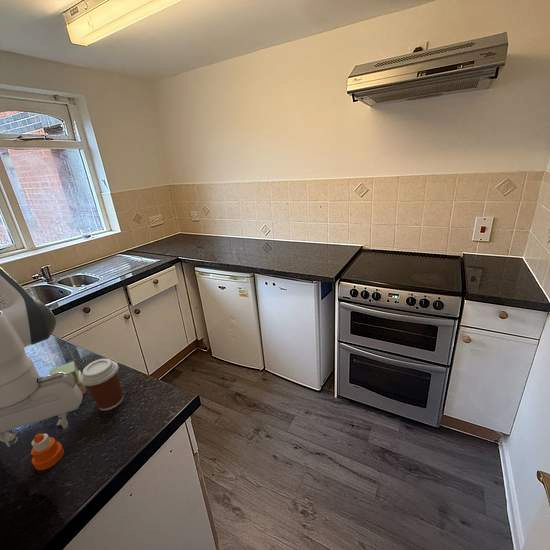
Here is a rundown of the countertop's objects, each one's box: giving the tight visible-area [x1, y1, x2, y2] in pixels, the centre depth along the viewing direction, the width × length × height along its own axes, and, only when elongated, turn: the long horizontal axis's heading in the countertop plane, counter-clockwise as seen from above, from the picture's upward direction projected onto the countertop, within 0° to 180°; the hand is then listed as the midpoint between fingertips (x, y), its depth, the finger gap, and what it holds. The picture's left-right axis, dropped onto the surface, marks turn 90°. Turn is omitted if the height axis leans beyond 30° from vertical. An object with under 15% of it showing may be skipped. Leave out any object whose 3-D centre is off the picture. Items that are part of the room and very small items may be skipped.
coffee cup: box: [80, 358, 125, 412], centre depth 81 cm, size 9×9×12 cm
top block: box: [49, 360, 79, 383], centre depth 86 cm, size 6×6×4 cm
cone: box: [30, 433, 65, 471], centre depth 67 cm, size 6×6×7 cm
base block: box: [76, 369, 87, 395], centre depth 88 cm, size 7×7×4 cm
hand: (39, 435), depth 66 cm, fingers open, 8 cm apart
